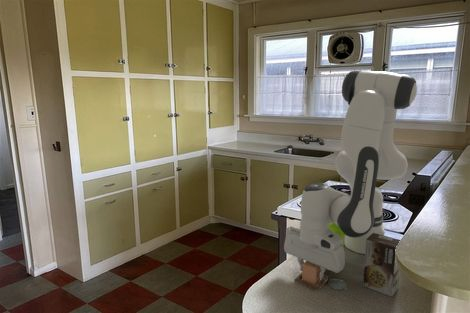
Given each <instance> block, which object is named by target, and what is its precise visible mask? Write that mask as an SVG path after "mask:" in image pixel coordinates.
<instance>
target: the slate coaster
mask: <svg viewBox="0 0 470 313" xmlns="http://www.w3.org/2000/svg"><path fill="white" fill-rule="evenodd" d="M327 284H328V286H329V287H330V288H331V289H334V290H336V291H344V290H346V289H347V283H346V282H345V281H344V280H342V279H339V278H332V279H329V280H328V283H327Z"/></svg>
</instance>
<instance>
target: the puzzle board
mask: <svg viewBox="0 0 470 313" xmlns="http://www.w3.org/2000/svg"><path fill="white" fill-rule="evenodd" d="M321 271H322V270H321ZM327 281H328V275H325V274H324V277H323V278H322V279H321V280H320V281H319V282H318V284H317V285H315V284H312V283H309V282H306V281H303V280H302V271H301V272H300V273H299V275H297V276H296V277H295V279H294V283H295V284H298V285H301V286H304V287H306V288H310V289H313V290H315V291H320V289H321V288H322V286H323V285H324V284H325V283H326V282H327Z"/></svg>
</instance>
